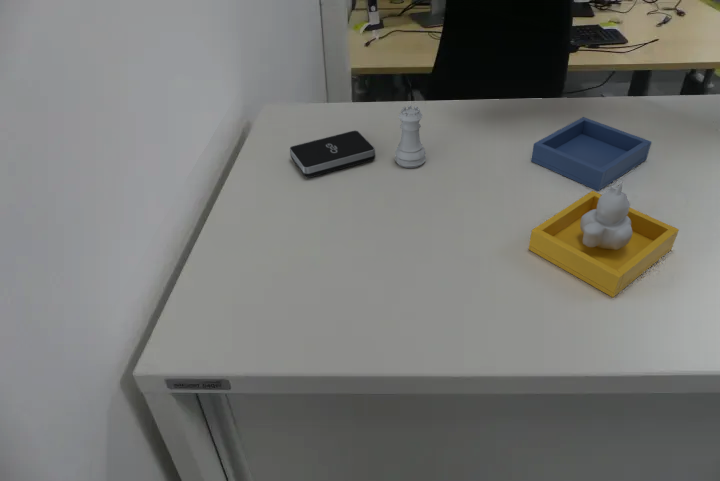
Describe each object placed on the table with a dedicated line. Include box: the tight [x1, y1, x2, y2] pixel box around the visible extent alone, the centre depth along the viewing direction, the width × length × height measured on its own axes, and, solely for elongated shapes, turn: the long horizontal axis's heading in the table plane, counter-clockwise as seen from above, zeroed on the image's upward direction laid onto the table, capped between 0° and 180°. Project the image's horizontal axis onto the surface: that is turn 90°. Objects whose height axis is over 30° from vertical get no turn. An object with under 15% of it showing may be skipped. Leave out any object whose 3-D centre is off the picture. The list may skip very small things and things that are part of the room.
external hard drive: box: [289, 129, 376, 179], centre depth 81 cm, size 7×11×2 cm, turn 114°
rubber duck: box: [580, 181, 632, 250], centre depth 60 cm, size 5×7×8 cm
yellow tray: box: [528, 190, 680, 298], centre depth 62 cm, size 12×11×3 cm
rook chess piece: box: [394, 105, 427, 169], centre depth 78 cm, size 4×4×8 cm
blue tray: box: [530, 116, 653, 192], centre depth 77 cm, size 12×11×3 cm
